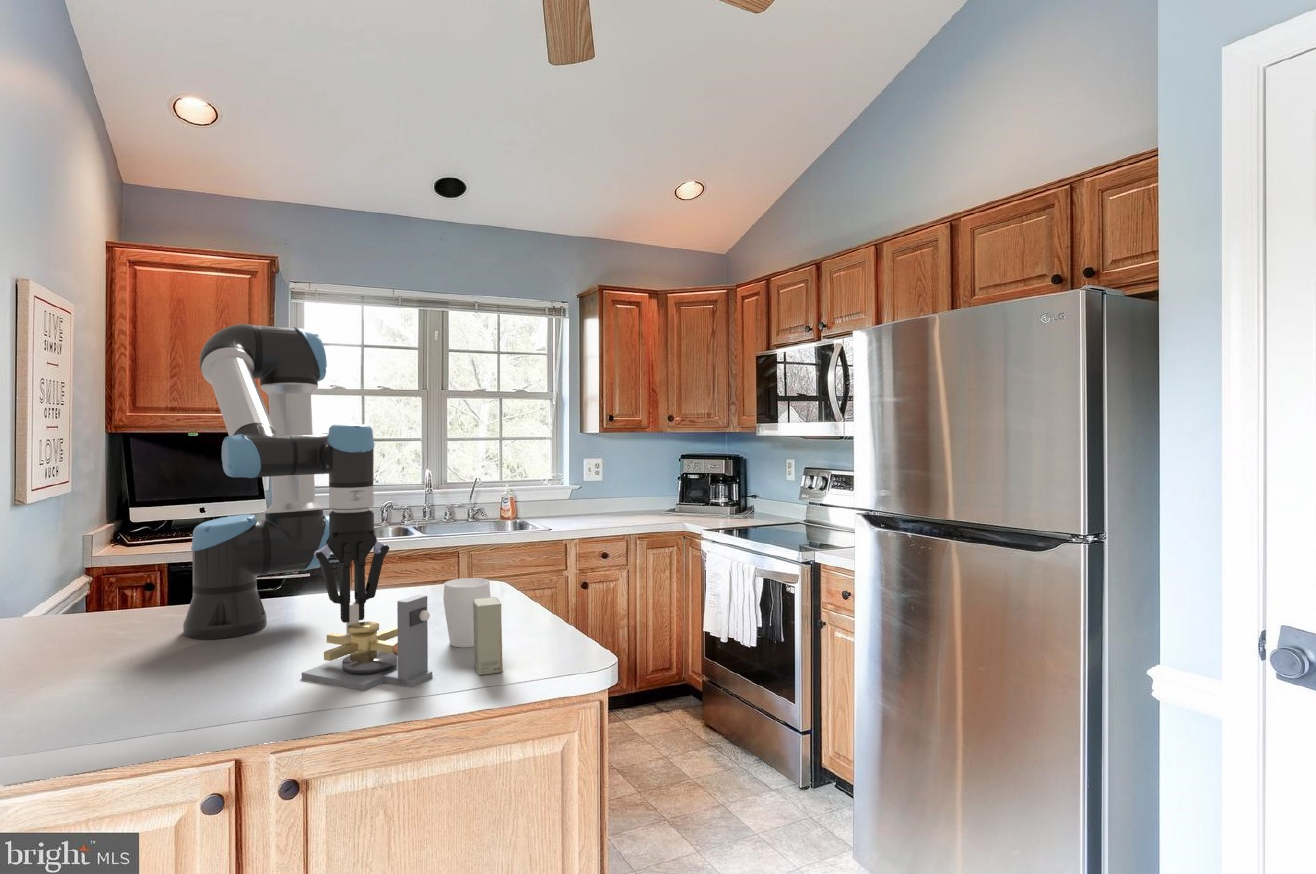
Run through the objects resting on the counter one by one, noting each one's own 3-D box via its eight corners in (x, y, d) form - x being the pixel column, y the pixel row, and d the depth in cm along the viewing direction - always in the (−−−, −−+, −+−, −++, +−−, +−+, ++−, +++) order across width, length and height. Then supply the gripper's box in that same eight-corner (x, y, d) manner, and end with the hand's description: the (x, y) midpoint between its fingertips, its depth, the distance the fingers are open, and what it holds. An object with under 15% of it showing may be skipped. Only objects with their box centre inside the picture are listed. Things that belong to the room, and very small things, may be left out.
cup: (478, 651, 144) (478, 588, 143) (435, 648, 145) (434, 586, 145) (497, 637, 152) (497, 578, 152) (456, 634, 154) (456, 576, 154)
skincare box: (503, 673, 132) (502, 604, 131) (477, 676, 130) (476, 606, 130) (497, 662, 137) (497, 596, 137) (472, 664, 136) (472, 597, 136)
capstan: (292, 671, 128) (291, 632, 128) (363, 645, 143) (363, 610, 142) (369, 686, 121) (368, 644, 121) (435, 657, 136) (435, 620, 136)
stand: (301, 678, 129) (300, 597, 128) (363, 654, 141) (363, 580, 141) (394, 696, 120) (394, 609, 120) (451, 669, 133) (451, 591, 133)
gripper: (318, 514, 129) (319, 650, 130) (394, 509, 137) (395, 637, 138) (308, 510, 135) (309, 640, 136) (382, 505, 143) (382, 628, 144)
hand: (352, 638), depth 137 cm, fingers closed
